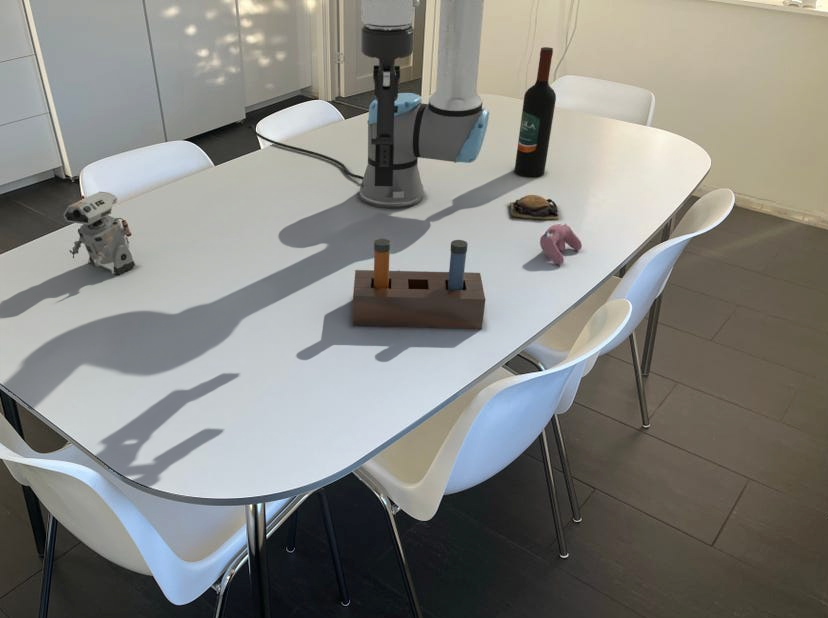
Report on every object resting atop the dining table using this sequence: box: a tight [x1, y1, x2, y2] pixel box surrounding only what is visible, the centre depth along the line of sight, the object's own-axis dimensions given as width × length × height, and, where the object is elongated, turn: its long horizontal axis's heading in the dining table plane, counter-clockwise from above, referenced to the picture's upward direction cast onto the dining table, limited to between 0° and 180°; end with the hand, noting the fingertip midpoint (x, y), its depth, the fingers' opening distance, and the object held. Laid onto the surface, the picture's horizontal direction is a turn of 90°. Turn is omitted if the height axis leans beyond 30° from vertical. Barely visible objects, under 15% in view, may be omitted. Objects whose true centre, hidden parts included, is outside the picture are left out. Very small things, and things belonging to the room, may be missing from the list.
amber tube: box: [373, 237, 391, 289], centre depth 128 cm, size 3×3×14 cm
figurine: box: [62, 191, 136, 276], centre depth 141 cm, size 9×12×15 cm
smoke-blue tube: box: [448, 239, 468, 290], centre depth 127 cm, size 3×3×14 cm
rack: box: [352, 269, 486, 330], centre depth 130 cm, size 10×22×6 cm, turn 87°
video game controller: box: [539, 223, 583, 266], centre depth 149 cm, size 10×5×7 cm, turn 141°
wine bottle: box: [514, 46, 557, 179], centre depth 180 cm, size 8×8×30 cm
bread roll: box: [509, 194, 559, 221], centre depth 167 cm, size 11×8×4 cm
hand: (384, 169), depth 116 cm, fingers open, 13 cm apart
